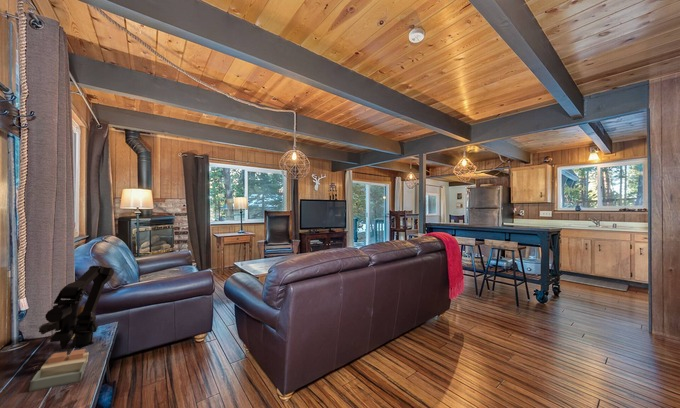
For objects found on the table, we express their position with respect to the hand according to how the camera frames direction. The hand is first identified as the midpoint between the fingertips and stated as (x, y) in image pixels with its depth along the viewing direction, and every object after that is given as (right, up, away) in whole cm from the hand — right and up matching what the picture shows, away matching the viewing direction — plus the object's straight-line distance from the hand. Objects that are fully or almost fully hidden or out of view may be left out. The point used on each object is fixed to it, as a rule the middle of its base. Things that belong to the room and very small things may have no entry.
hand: (63, 348), depth 120 cm
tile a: (+9, -2, -3) cm, 10 cm away
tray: (+13, -5, -14) cm, 19 cm away
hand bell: (-16, -5, +21) cm, 27 cm away
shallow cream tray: (+7, -5, -6) cm, 11 cm away
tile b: (+4, -1, -7) cm, 8 cm away
